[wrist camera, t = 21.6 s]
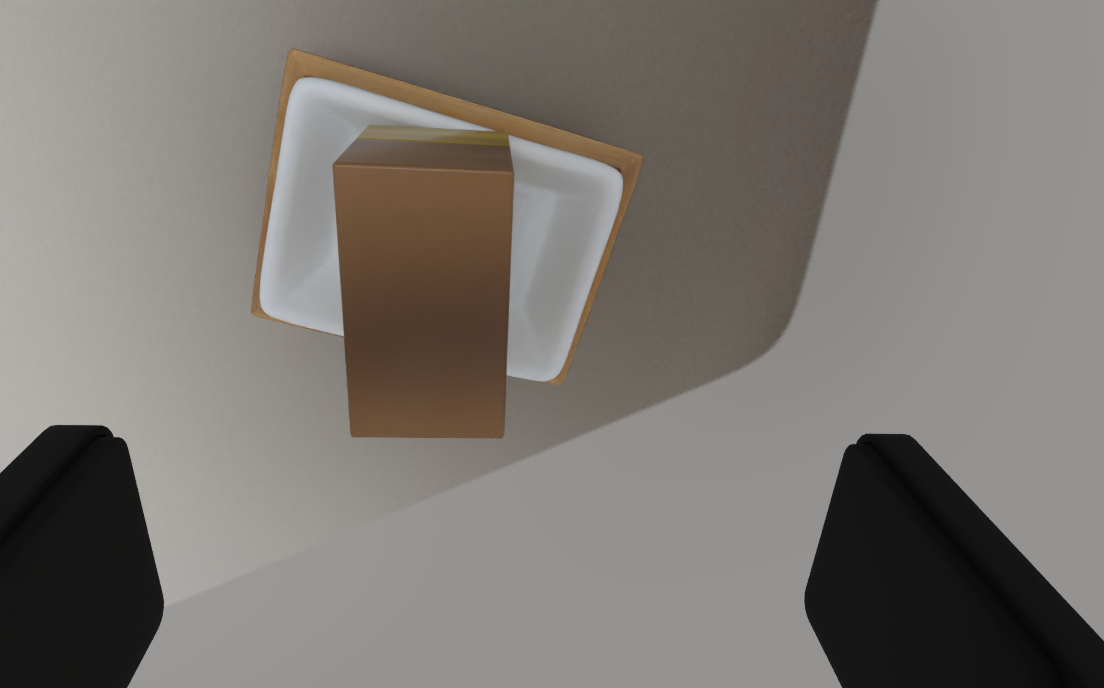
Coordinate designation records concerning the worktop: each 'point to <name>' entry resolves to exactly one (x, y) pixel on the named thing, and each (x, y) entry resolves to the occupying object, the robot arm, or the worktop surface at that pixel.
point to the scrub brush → (425, 280)
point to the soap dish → (538, 207)
